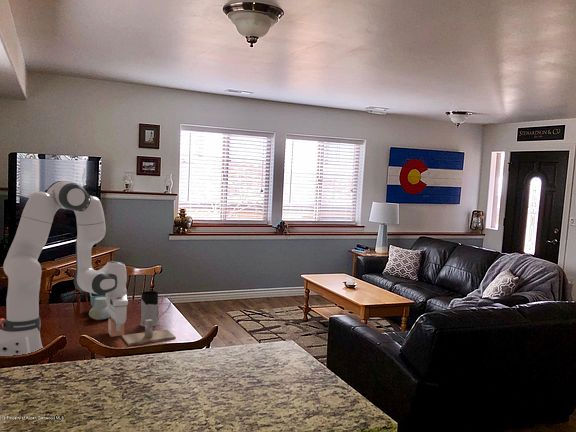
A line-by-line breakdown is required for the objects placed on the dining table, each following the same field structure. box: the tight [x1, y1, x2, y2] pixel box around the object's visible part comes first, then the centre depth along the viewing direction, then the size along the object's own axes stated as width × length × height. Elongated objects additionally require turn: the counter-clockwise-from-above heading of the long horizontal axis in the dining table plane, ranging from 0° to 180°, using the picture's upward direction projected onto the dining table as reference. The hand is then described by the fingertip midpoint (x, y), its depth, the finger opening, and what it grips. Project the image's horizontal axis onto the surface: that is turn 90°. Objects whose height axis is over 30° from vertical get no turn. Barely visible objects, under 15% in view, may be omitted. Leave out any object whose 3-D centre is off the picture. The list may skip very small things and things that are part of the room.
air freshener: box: [88, 297, 111, 321], centre depth 247 cm, size 11×8×10 cm
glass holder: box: [139, 290, 172, 328], centre depth 241 cm, size 9×14×15 cm, turn 109°
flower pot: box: [89, 292, 108, 309], centre depth 260 cm, size 9×9×9 cm
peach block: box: [107, 317, 125, 337], centre depth 224 cm, size 6×6×7 cm
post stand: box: [121, 319, 177, 347], centre depth 220 cm, size 20×12×8 cm, turn 121°
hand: (116, 328), depth 224 cm, fingers closed on peach block, 6 cm apart
